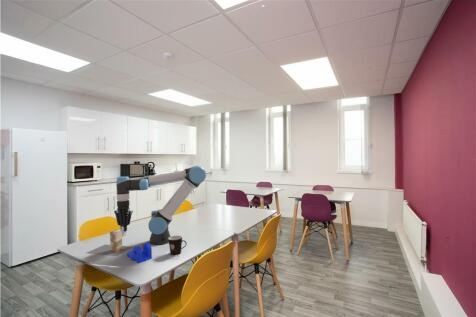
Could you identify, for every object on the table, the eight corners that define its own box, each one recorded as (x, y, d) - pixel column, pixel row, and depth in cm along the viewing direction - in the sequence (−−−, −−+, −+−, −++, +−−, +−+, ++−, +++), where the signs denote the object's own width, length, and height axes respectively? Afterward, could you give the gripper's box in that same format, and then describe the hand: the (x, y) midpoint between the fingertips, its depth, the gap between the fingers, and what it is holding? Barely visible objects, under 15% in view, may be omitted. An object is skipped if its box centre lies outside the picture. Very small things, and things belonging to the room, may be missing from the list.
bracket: (151, 258, 144) (151, 244, 144) (138, 263, 137) (138, 248, 137) (137, 252, 155) (137, 238, 155) (124, 256, 149) (124, 241, 149)
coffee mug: (166, 253, 150) (165, 237, 151) (178, 249, 156) (177, 234, 157) (175, 258, 142) (175, 242, 142) (187, 254, 148) (187, 238, 148)
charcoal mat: (133, 247, 163) (133, 246, 163) (116, 256, 148) (116, 255, 148) (104, 245, 169) (104, 244, 169) (85, 254, 154) (85, 253, 154)
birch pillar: (122, 249, 159) (121, 229, 159) (116, 251, 154) (116, 232, 154) (116, 248, 160) (115, 229, 160) (110, 251, 155) (109, 231, 155)
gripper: (135, 199, 158) (136, 234, 158) (118, 199, 161) (119, 233, 161) (127, 201, 150) (128, 238, 150) (110, 200, 154) (111, 237, 154)
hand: (123, 235), depth 156 cm, fingers closed
